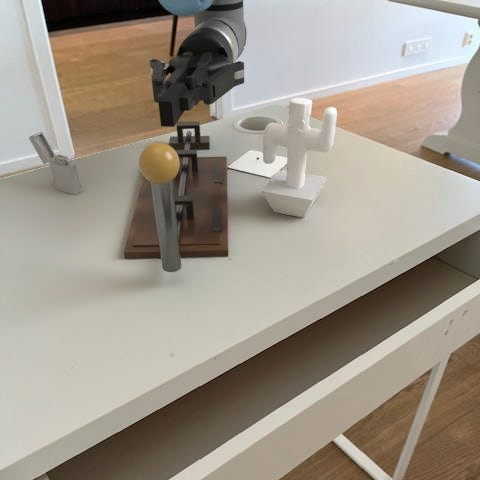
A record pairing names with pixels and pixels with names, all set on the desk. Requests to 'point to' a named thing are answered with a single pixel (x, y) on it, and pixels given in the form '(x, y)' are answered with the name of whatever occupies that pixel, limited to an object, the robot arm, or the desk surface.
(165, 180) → the bolt
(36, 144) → the lighter
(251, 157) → the white piece
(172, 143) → the keeper
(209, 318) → the desk surface
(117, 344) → the desk surface
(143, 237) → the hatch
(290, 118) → the figurine
